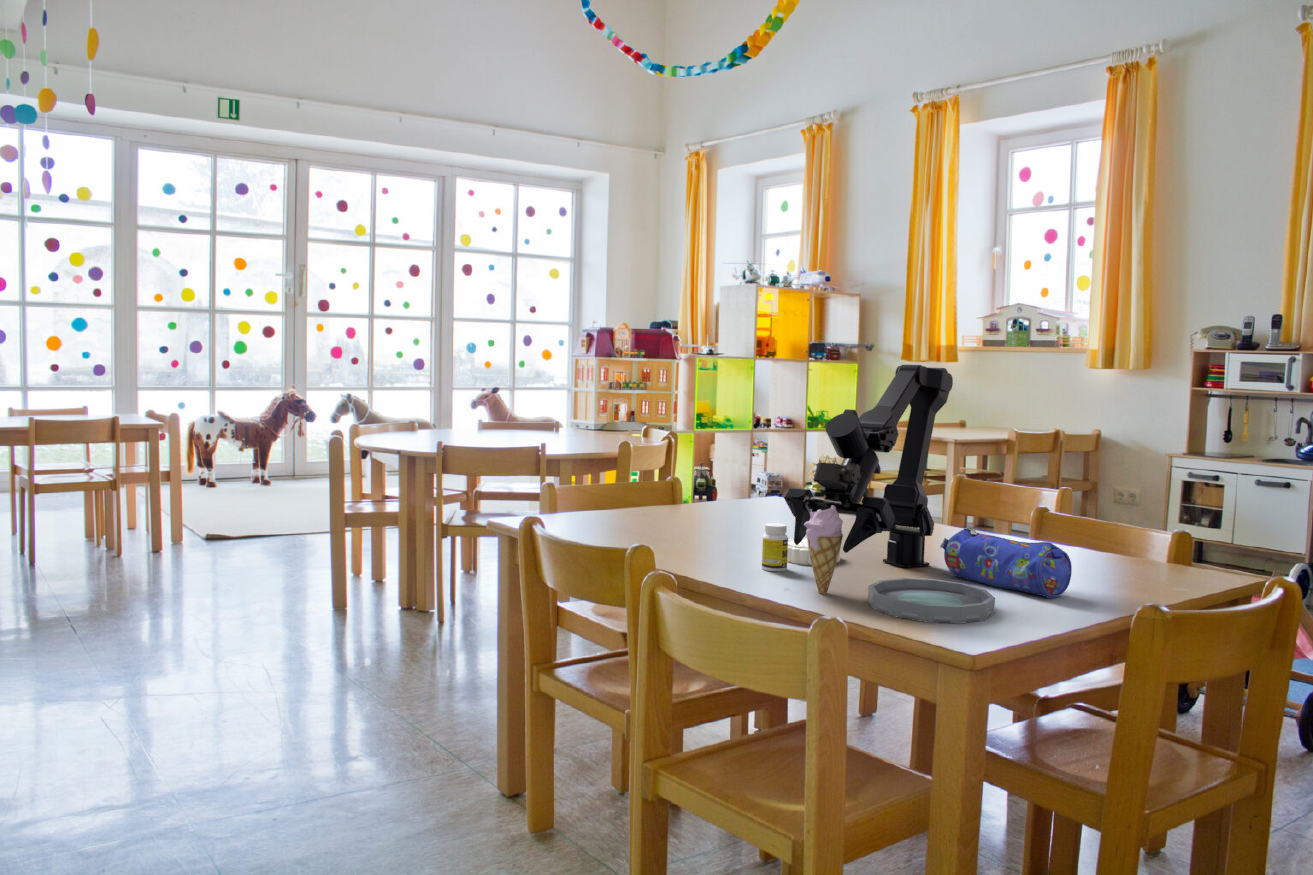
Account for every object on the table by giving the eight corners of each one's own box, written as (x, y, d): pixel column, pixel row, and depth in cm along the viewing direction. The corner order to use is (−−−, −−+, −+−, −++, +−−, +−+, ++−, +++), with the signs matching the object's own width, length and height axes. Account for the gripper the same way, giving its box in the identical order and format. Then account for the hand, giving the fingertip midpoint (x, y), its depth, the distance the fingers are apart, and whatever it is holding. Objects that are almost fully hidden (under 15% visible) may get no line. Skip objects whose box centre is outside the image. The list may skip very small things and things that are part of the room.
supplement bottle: (786, 572, 177) (787, 527, 177) (760, 571, 178) (761, 526, 177) (787, 567, 182) (789, 523, 181) (762, 565, 183) (764, 521, 182)
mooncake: (844, 567, 185) (845, 548, 184) (781, 565, 185) (782, 547, 185) (834, 554, 196) (835, 537, 196) (775, 553, 197) (776, 535, 196)
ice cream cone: (831, 599, 157) (834, 508, 156) (795, 594, 160) (798, 504, 159) (845, 592, 163) (849, 504, 162) (811, 586, 166) (814, 500, 165)
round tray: (934, 589, 167) (934, 574, 166) (1019, 615, 150) (1020, 600, 149) (844, 598, 158) (845, 583, 158) (924, 628, 141) (924, 611, 141)
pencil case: (937, 577, 177) (939, 525, 176) (967, 572, 182) (969, 522, 181) (1044, 603, 159) (1047, 546, 158) (1075, 597, 164) (1078, 541, 163)
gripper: (791, 441, 169) (754, 510, 161) (890, 449, 157) (855, 523, 150) (812, 482, 176) (778, 550, 168) (908, 493, 164) (876, 566, 156)
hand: (819, 547), depth 160 cm, fingers open, 9 cm apart
